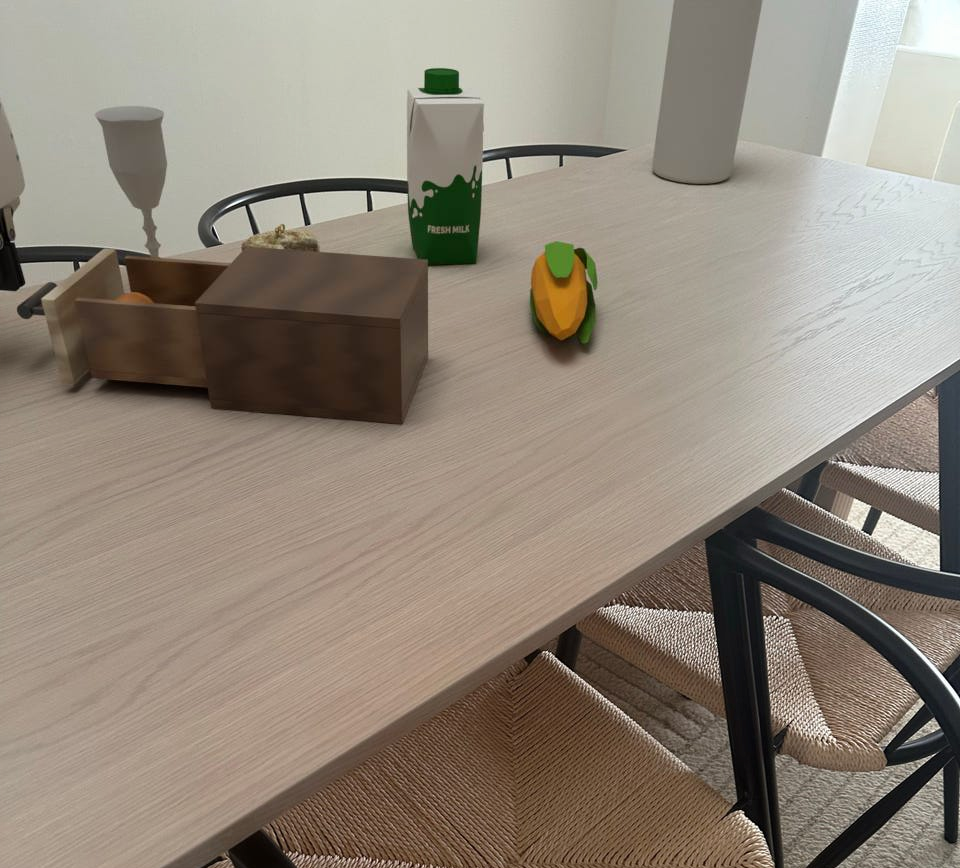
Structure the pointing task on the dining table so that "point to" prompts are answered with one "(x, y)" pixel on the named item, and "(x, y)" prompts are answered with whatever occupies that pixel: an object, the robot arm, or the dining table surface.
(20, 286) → the robot arm
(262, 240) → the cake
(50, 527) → the dining table surface
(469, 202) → the milk carton
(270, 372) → the cabinet
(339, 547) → the dining table surface
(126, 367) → the drawer
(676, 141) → the cylinder vase
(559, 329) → the corn
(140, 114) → the chalice
